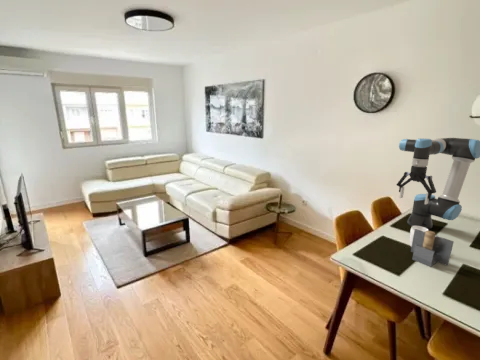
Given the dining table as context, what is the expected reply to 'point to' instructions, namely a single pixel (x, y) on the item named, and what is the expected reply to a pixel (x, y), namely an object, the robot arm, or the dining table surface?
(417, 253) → the bracket
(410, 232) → the cup
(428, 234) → the wooden dowel
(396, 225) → the dining table surface
